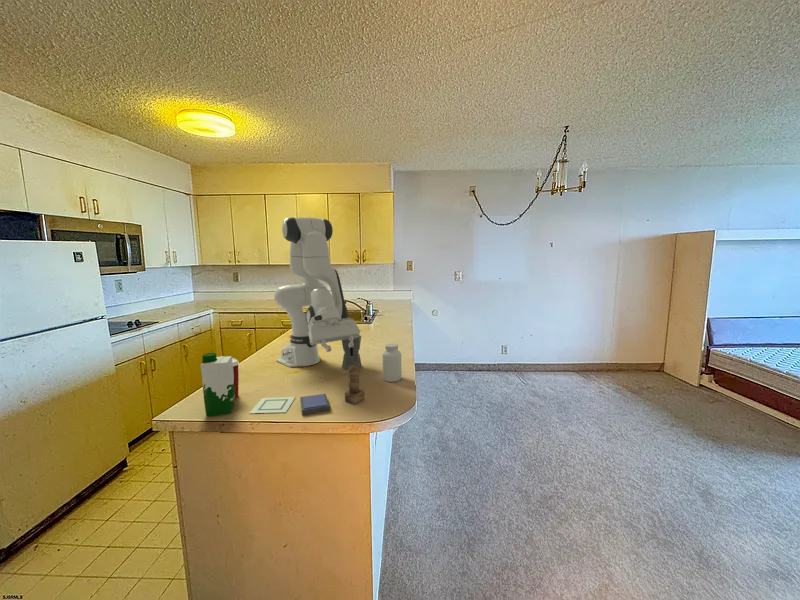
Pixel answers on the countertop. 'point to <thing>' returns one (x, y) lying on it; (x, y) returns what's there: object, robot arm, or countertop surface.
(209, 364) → the milk carton
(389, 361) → the pill bottle
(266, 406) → the card
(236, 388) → the paper cup
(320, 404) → the ink pad
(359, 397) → the stamp
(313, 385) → the countertop surface
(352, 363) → the coffeepot
